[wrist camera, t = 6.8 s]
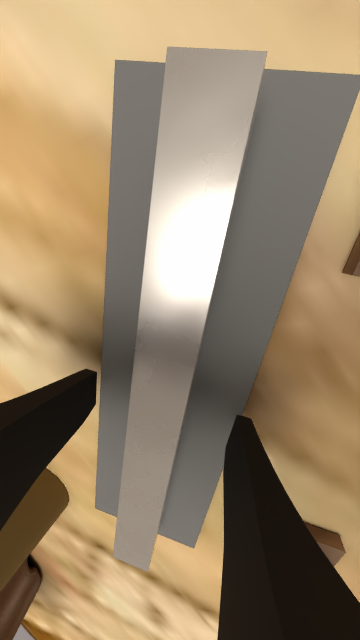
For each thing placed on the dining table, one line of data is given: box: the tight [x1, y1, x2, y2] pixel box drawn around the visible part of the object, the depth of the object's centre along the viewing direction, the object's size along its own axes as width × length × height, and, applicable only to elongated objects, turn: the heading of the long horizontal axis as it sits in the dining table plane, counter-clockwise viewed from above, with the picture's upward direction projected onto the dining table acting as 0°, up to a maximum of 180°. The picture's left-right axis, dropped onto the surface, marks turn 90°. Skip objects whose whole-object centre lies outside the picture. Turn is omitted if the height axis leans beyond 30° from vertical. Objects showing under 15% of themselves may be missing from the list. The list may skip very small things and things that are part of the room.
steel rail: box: [113, 47, 267, 572], centre depth 11 cm, size 2×24×2 cm, turn 171°
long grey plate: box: [95, 60, 360, 548], centre depth 12 cm, size 8×26×1 cm, turn 171°
